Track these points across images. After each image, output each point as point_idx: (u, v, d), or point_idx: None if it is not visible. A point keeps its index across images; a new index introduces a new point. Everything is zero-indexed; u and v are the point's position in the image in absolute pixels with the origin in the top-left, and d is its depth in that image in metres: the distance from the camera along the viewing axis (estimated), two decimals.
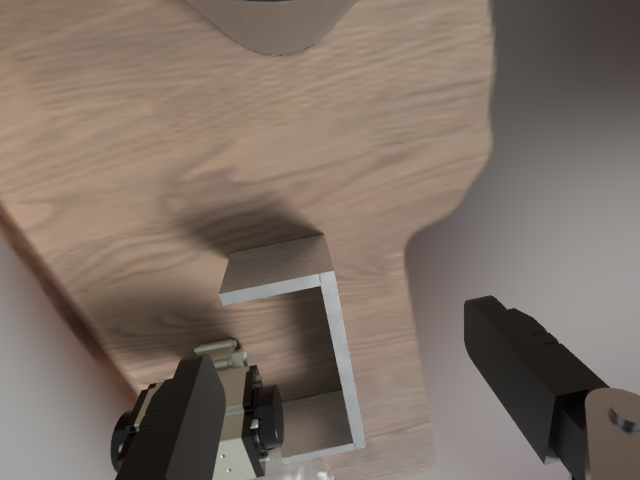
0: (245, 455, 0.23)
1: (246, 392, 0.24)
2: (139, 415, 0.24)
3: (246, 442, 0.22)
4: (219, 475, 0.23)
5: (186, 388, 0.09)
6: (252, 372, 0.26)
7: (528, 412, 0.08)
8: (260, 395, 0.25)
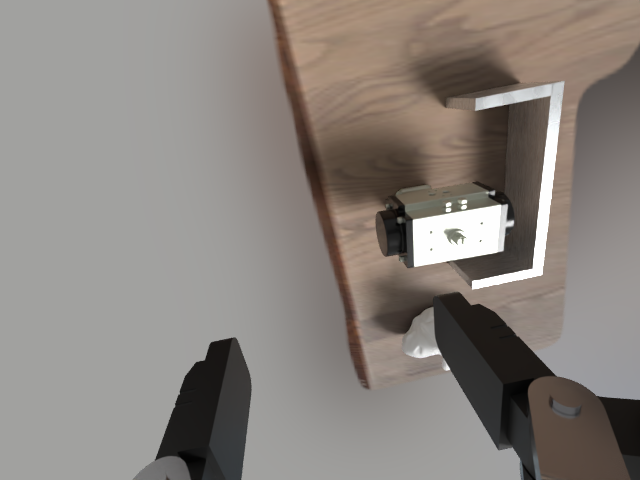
0: (497, 224, 0.29)
1: (484, 187, 0.31)
2: (403, 202, 0.30)
3: (503, 209, 0.28)
4: (471, 245, 0.29)
5: (219, 368, 0.09)
6: (477, 182, 0.32)
7: (484, 401, 0.08)
8: None
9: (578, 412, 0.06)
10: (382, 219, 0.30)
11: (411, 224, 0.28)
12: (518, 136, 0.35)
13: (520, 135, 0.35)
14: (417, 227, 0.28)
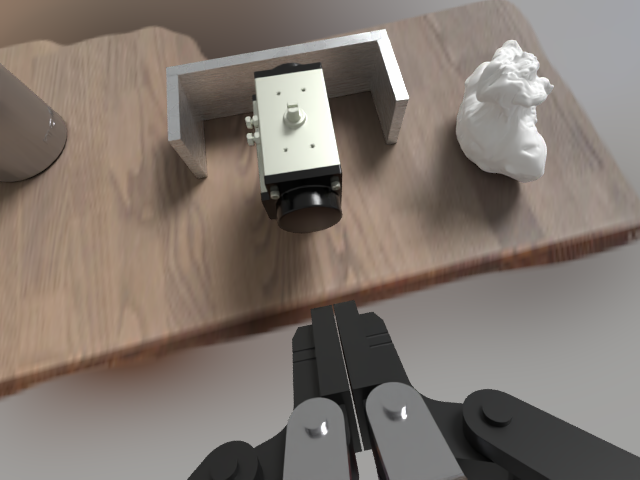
0: (281, 76, 0.23)
1: None
2: None
3: (261, 74, 0.23)
4: (310, 98, 0.22)
5: (330, 329, 0.10)
6: None
7: None
8: None
9: (400, 416, 0.07)
10: (281, 219, 0.21)
11: (271, 176, 0.20)
12: (235, 101, 0.33)
13: (233, 98, 0.33)
14: (276, 168, 0.20)
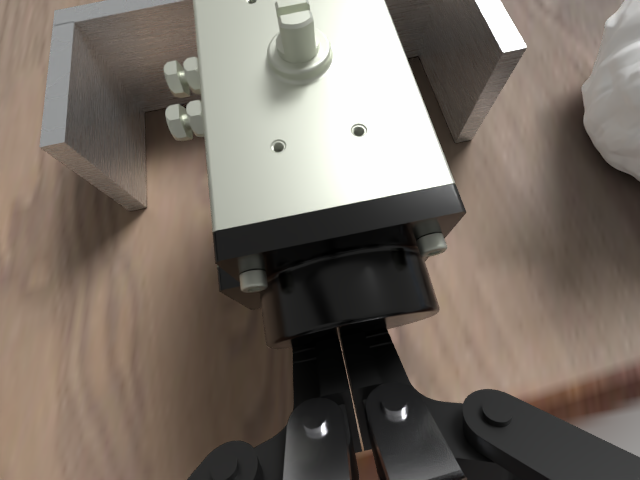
0: None
1: None
2: None
3: None
4: (337, 5, 0.08)
5: None
6: None
7: None
8: None
9: (400, 416, 0.07)
10: None
11: (236, 233, 0.06)
12: None
13: None
14: (253, 204, 0.06)
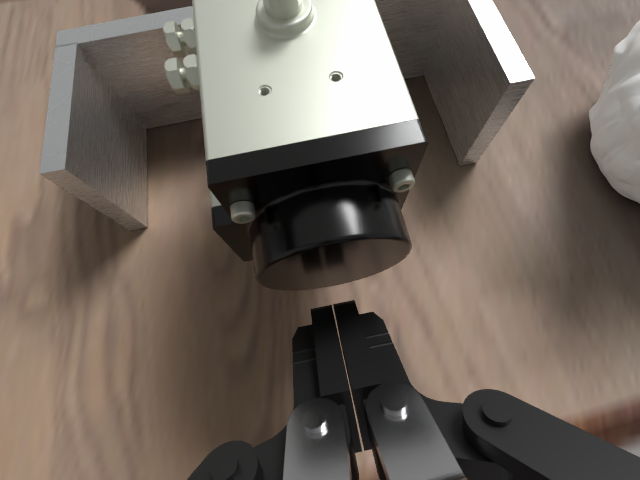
0: None
1: None
2: None
3: None
4: None
5: (330, 329, 0.10)
6: None
7: None
8: None
9: (400, 416, 0.07)
10: (263, 273, 0.08)
11: (226, 161, 0.07)
12: (197, 95, 0.19)
13: (192, 90, 0.19)
14: (241, 138, 0.07)
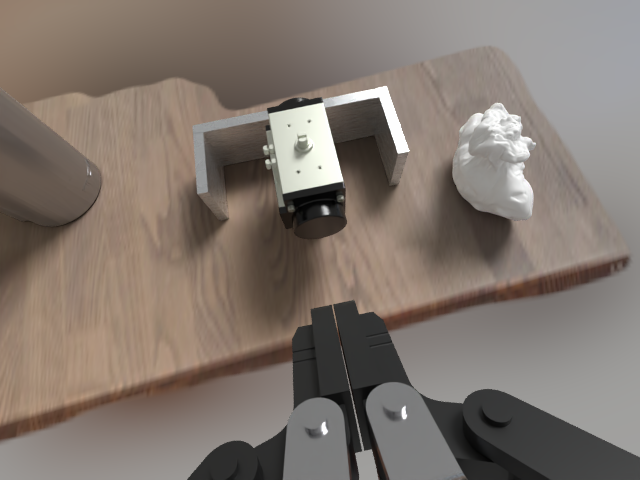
0: (290, 110, 0.27)
1: None
2: None
3: (273, 110, 0.27)
4: (315, 128, 0.27)
5: (330, 329, 0.10)
6: None
7: None
8: None
9: (400, 416, 0.07)
10: (297, 228, 0.26)
11: (288, 194, 0.25)
12: (252, 149, 0.37)
13: (251, 147, 0.37)
14: (292, 187, 0.25)
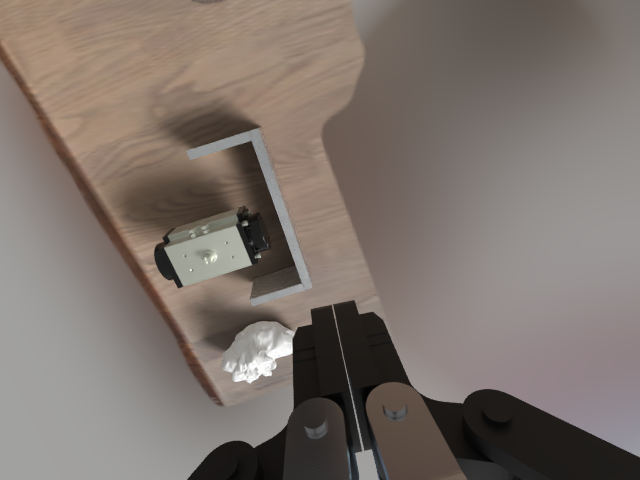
0: (241, 242, 0.34)
1: (239, 211, 0.36)
2: (170, 233, 0.36)
3: (239, 229, 0.34)
4: (226, 262, 0.35)
5: (330, 329, 0.10)
6: (243, 206, 0.38)
7: None
8: (249, 215, 0.37)
9: (400, 416, 0.07)
10: (155, 250, 0.36)
11: (164, 252, 0.34)
12: None
13: None
14: (171, 253, 0.34)
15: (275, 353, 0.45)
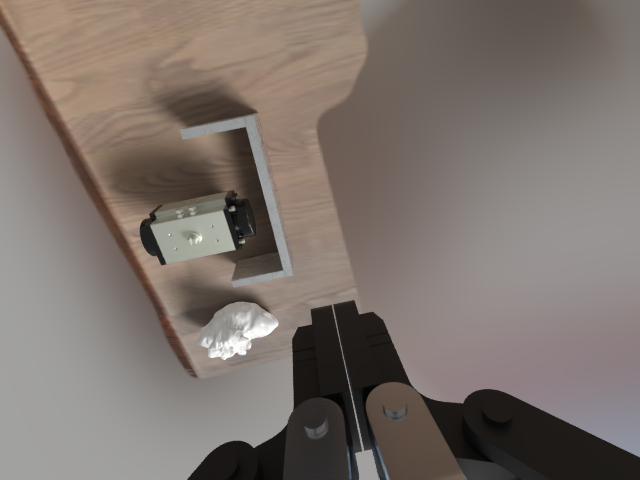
0: (226, 226, 0.35)
1: (227, 195, 0.37)
2: (158, 210, 0.36)
3: (226, 214, 0.34)
4: (210, 245, 0.36)
5: (330, 329, 0.10)
6: None
7: None
8: (237, 200, 0.37)
9: (400, 416, 0.07)
10: None
11: (150, 229, 0.34)
12: None
13: None
14: (156, 231, 0.34)
15: (251, 333, 0.47)
